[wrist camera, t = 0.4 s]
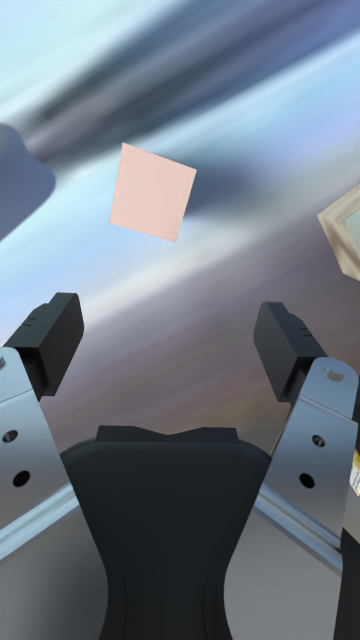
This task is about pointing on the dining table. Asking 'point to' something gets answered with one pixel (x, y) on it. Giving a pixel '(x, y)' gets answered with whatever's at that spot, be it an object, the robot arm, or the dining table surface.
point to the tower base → (342, 231)
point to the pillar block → (151, 193)
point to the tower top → (354, 230)
